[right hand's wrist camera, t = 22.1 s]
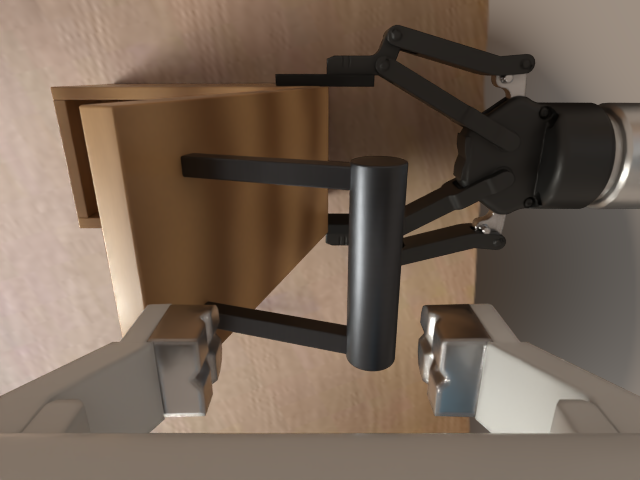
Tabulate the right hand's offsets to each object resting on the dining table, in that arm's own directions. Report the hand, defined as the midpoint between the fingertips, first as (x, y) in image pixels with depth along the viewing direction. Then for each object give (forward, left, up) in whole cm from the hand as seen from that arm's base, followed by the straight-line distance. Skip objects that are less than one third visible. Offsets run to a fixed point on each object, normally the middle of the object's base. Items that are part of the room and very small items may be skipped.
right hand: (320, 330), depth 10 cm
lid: (-2, -3, -12) cm, 13 cm away
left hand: (-2, -3, -23) cm, 24 cm away
